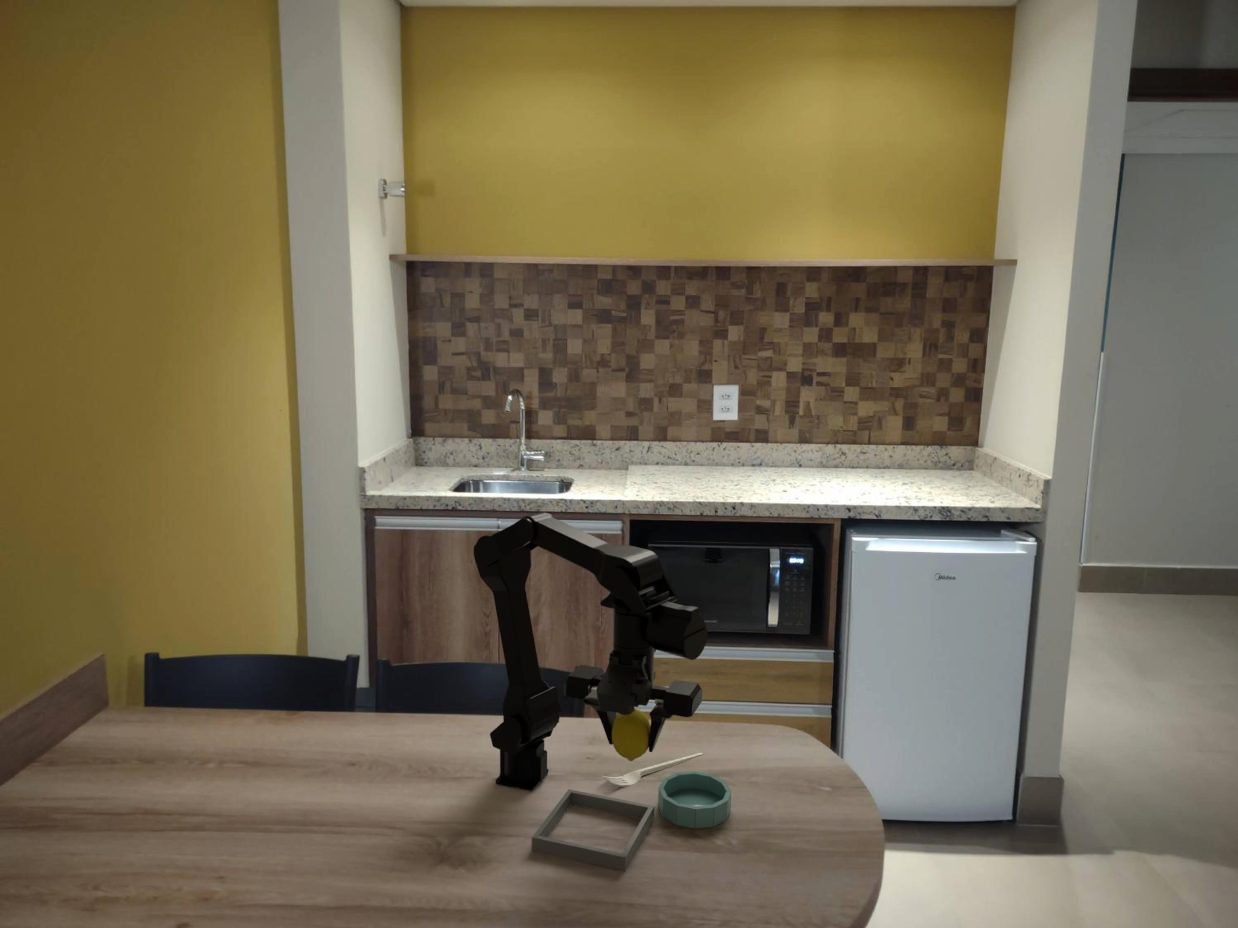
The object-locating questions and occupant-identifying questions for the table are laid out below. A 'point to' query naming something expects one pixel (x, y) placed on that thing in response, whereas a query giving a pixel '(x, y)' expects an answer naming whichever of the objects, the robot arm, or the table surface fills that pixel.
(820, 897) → the table surface
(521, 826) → the table surface
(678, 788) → the bowl
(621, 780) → the fork
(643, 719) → the lemon
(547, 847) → the parts tray
